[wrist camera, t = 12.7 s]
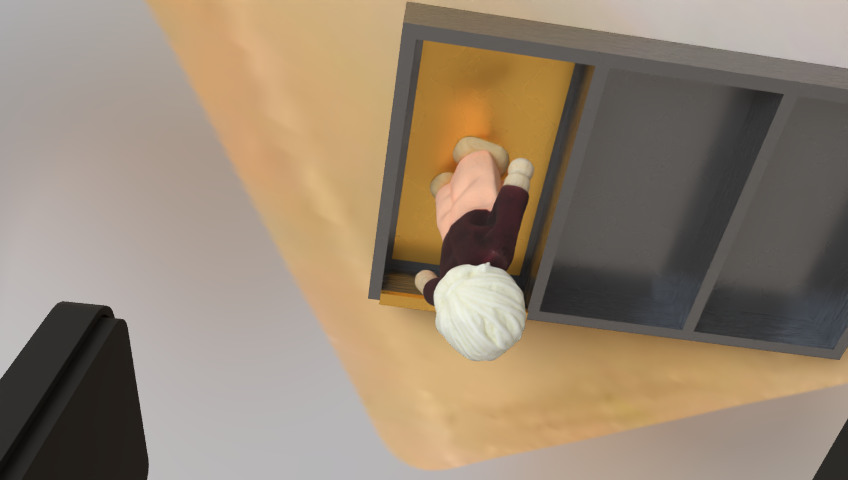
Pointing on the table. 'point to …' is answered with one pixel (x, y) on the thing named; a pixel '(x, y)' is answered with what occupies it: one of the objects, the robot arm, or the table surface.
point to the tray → (631, 179)
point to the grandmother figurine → (478, 250)
